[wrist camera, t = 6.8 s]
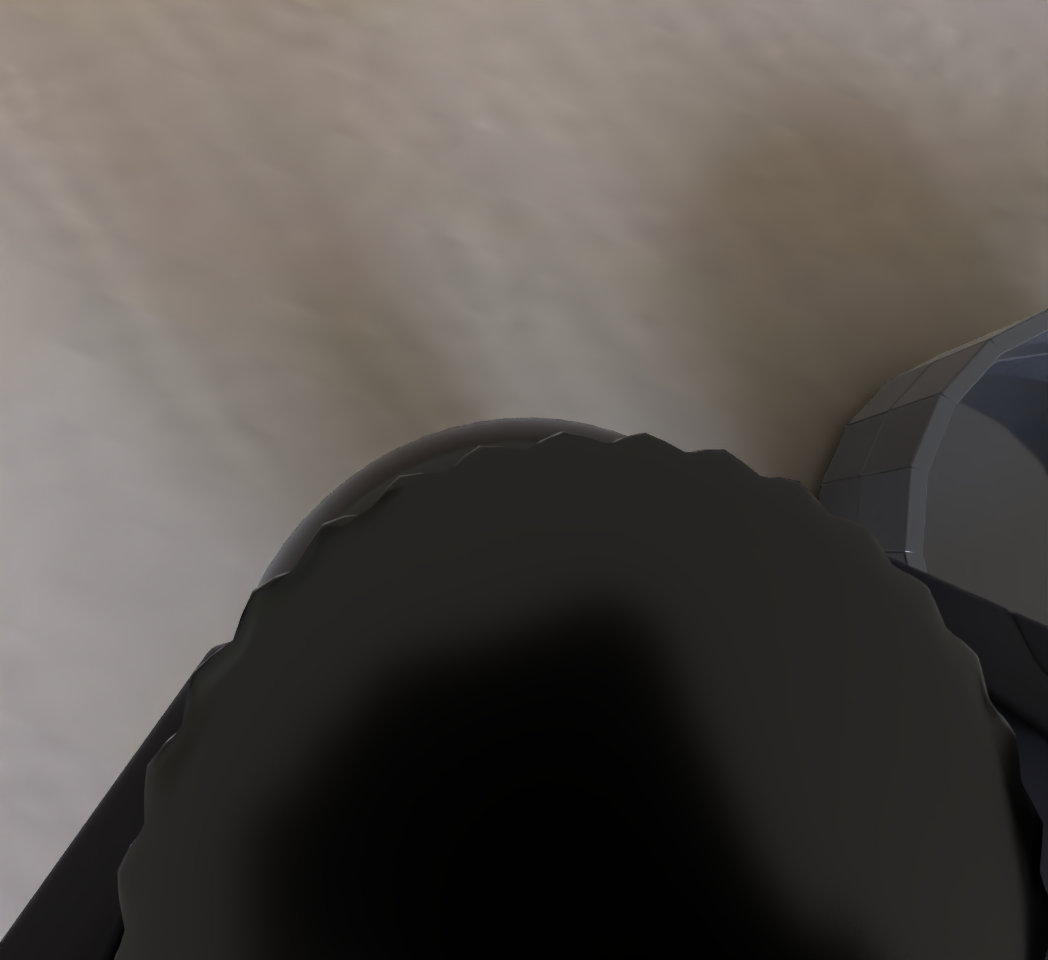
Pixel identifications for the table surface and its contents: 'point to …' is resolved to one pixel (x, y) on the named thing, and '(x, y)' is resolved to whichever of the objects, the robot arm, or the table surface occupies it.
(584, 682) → the supplement bottle
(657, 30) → the table surface
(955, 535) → the pan
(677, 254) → the table surface
